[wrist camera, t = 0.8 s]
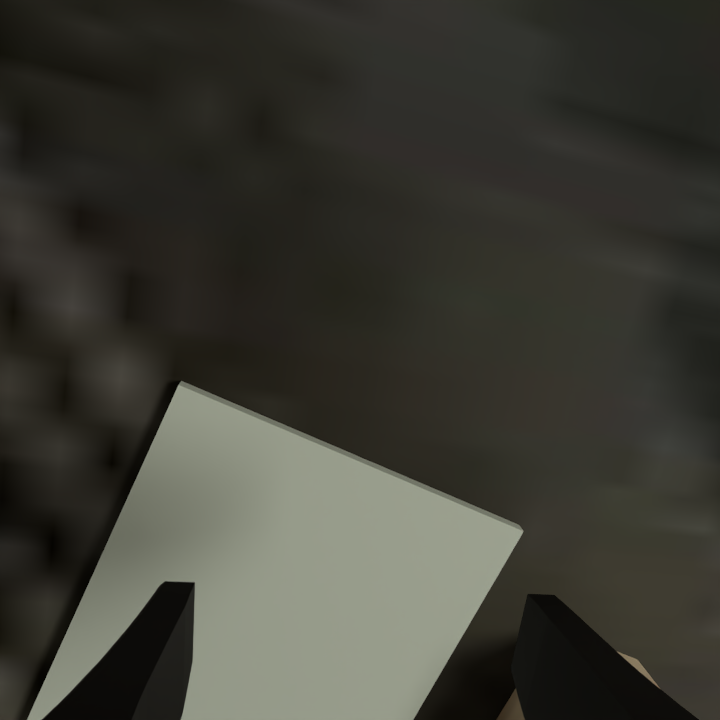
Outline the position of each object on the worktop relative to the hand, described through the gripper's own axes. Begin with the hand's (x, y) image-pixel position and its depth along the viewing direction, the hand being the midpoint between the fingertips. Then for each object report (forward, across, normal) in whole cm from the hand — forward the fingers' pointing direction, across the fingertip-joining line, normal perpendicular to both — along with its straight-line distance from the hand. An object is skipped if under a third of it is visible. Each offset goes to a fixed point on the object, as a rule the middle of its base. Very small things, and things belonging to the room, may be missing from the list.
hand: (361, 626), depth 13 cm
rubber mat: (+9, +2, +8) cm, 12 cm away
